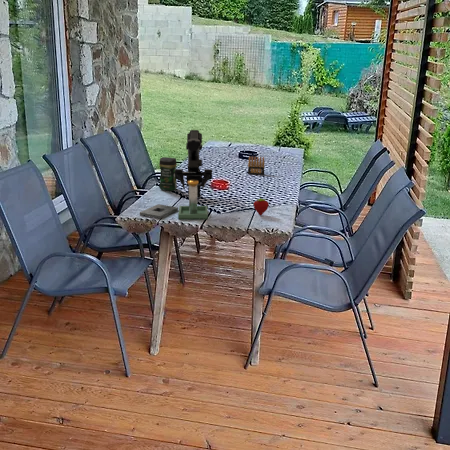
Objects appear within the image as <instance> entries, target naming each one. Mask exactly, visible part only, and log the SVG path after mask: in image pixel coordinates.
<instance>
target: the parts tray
mask: <svg viewBox="0 0 450 450" xmlns="http://www.w3.org/2000/svg"><path fill="white" fill-rule="evenodd" d="M177 214H178V215H177V216H178V217H177V218H178V220H208V219H209V218H208V217H209V215H208V214H209V212H208V205H197V214H189V205H179V207H178V213H177Z"/></svg>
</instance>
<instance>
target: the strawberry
mask: <svg viewBox="0 0 450 450" xmlns="http://www.w3.org/2000/svg"><path fill="white" fill-rule="evenodd" d="M269 206H270V205H269V202H268V201H267V199H266V198H262V197H259V198H257V199H256V198H255V201H254V202H253V208H254V210H255V212H257V213H258V215H259V216H262V215H264V213H265V212H266V211H267V210H268V209H269Z"/></svg>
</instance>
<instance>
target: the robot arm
mask: <svg viewBox="0 0 450 450" xmlns="http://www.w3.org/2000/svg"><path fill="white" fill-rule="evenodd" d="M186 135H187V136H186V144H185V148H186V149H185V150H186V151H187V157H188V158H187V171H184V169H182V168H180V169H179V168H176V170H175V179H176V180H177V181H179V182H180V184H181V185H182V189H183V190H185V189H186V188H185V185H186V187H187V192H188V194H186V197H187V196H188V197H187V198H189V184H188V181H189V180H198V181H199V184H197V197H198V198H201V197H200V196H202V197H203V195H202V194H201V189H202V190H204V189H205V186H206V183H207V182H208V181H210V180H212V179H213V170H212V169H207V168H205V169H204V170H203V171H201V169H200V167H202V166H203V159H200V152H201V151H202V150H203V133H201V132H200V130H199V129H190V130H189V132H188V133H187V134H186ZM185 176H186V184H185V179H184V178H185Z"/></svg>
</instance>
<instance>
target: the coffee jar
mask: <svg viewBox="0 0 450 450" xmlns="http://www.w3.org/2000/svg"><path fill="white" fill-rule="evenodd" d="M158 164H159V165H158V166H159V169H160V177H159V178H160V179H159V189H160V190H161V191H167V192H170V191H171V192H172V191H176V190H177V189H178V183H177V181H178V180H177V179H175V170H176V169H177V165H178V163H177V158H176V157H167V156H163V157H161V158H159V163H158Z"/></svg>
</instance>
